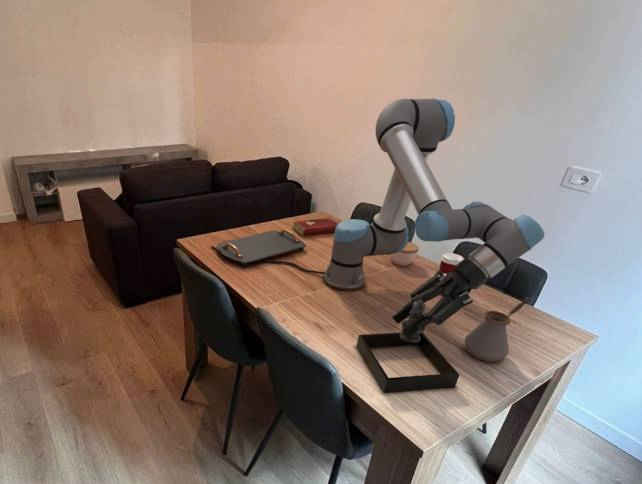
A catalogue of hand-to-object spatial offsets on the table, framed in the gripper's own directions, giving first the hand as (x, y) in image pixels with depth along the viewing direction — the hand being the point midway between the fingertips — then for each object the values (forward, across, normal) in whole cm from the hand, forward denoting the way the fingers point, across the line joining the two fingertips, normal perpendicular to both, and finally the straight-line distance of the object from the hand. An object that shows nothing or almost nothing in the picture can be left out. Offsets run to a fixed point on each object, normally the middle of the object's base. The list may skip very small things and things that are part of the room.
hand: (399, 327), depth 106 cm
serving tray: (+26, +82, +6) cm, 86 cm away
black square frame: (+7, 0, -12) cm, 14 cm away
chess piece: (0, 0, -5) cm, 5 cm away
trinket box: (-14, +65, -34) cm, 75 cm away
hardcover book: (+4, +104, -16) cm, 106 cm away
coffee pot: (-15, +5, -34) cm, 38 cm away
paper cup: (-18, +40, -37) cm, 57 cm away
